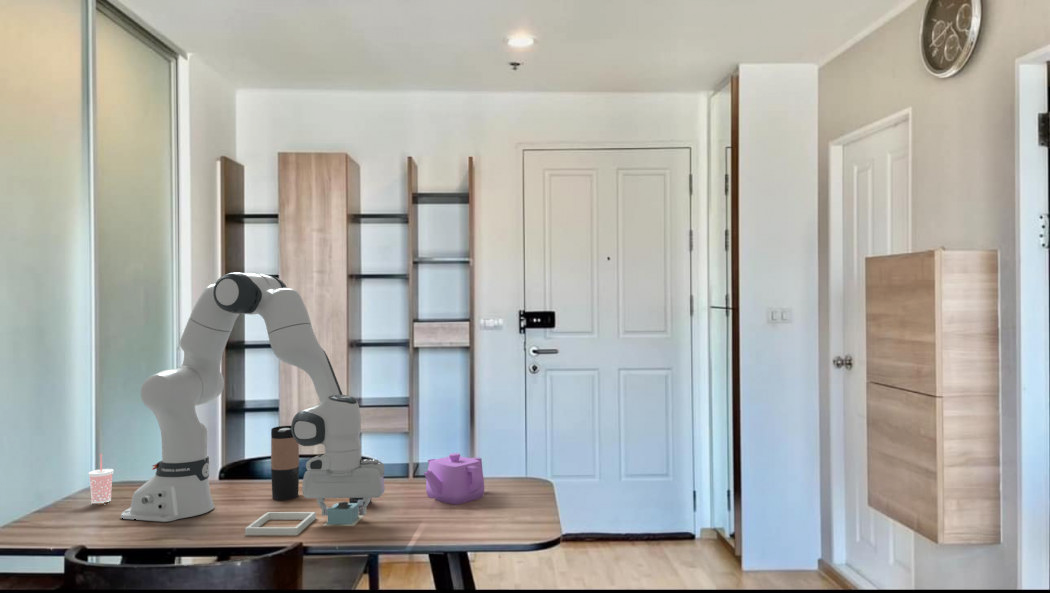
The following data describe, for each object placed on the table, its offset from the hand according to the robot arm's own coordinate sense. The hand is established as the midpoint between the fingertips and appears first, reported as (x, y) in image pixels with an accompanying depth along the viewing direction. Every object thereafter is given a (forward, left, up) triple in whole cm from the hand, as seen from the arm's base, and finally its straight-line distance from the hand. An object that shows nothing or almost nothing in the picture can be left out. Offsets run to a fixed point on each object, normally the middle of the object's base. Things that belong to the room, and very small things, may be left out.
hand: (344, 514), depth 171 cm
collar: (0, 0, -1) cm, 1 cm away
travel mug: (-25, +25, -3) cm, 36 cm away
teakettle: (+24, +25, -3) cm, 35 cm away
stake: (0, 0, -2) cm, 2 cm away
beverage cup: (-76, +19, -3) cm, 79 cm away
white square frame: (-14, -4, -2) cm, 15 cm away
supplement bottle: (0, +15, -3) cm, 15 cm away
